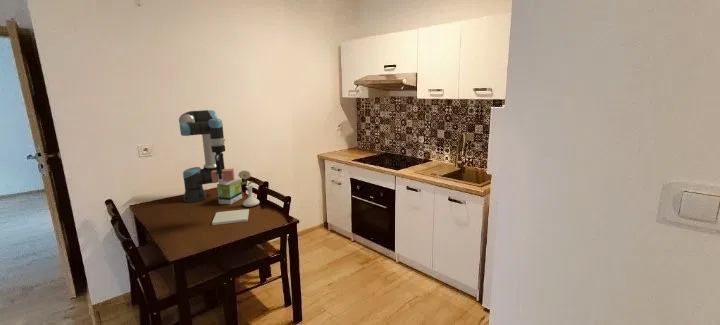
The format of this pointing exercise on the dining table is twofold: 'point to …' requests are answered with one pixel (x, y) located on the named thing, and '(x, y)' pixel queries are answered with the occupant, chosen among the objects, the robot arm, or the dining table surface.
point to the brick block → (227, 175)
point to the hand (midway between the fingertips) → (222, 182)
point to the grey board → (231, 217)
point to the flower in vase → (250, 200)
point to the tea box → (229, 191)
